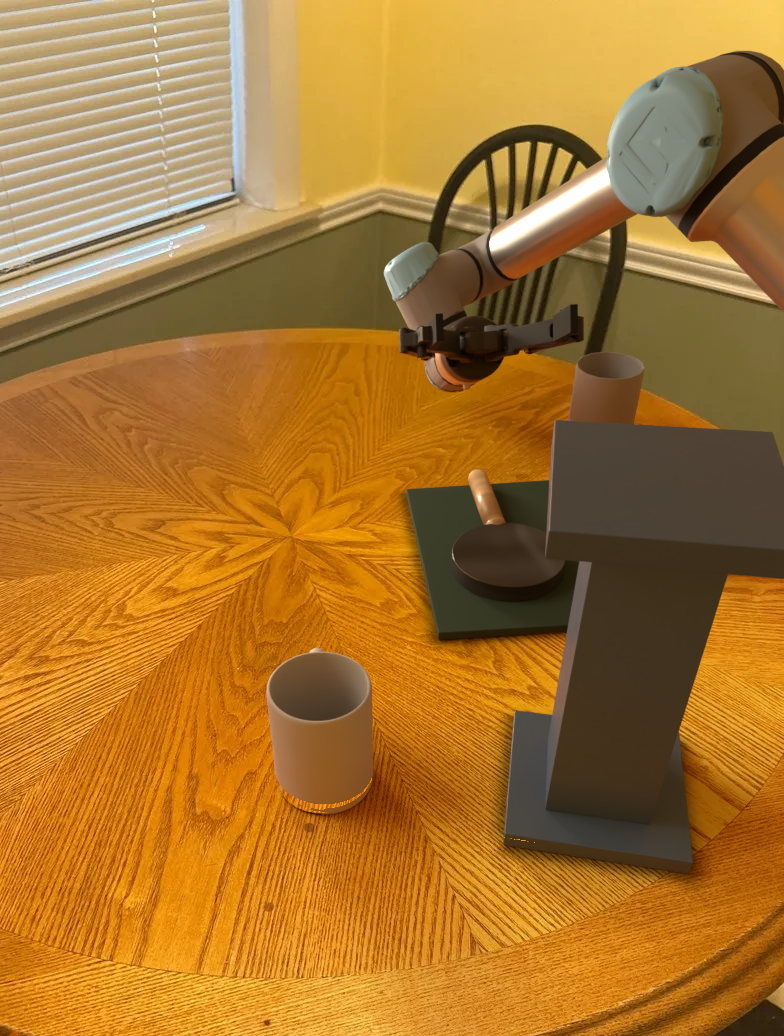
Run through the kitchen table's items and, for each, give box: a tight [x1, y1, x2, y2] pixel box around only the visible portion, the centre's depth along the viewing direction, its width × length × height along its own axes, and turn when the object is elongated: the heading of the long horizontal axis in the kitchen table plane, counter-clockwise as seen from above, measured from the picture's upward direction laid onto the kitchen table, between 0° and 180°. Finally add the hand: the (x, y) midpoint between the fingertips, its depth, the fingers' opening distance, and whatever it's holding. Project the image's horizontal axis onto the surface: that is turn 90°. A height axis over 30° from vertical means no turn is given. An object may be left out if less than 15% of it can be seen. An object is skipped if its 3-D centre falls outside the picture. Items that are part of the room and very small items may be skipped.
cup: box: [567, 351, 646, 424], centre depth 117 cm, size 8×8×10 cm
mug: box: [266, 647, 375, 815], centre depth 75 cm, size 12×8×11 cm
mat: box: [405, 479, 579, 641], centre depth 101 cm, size 28×18×1 cm, turn 2°
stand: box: [502, 419, 784, 875], centre depth 65 cm, size 14×14×30 cm
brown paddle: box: [451, 468, 565, 602], centre depth 101 cm, size 24×12×2 cm, turn 2°
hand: (507, 322), depth 90 cm, fingers open, 13 cm apart
